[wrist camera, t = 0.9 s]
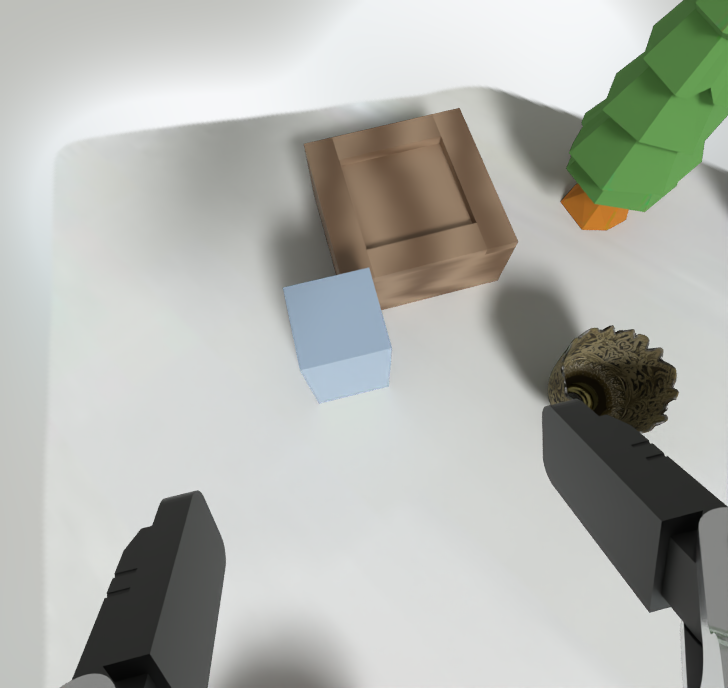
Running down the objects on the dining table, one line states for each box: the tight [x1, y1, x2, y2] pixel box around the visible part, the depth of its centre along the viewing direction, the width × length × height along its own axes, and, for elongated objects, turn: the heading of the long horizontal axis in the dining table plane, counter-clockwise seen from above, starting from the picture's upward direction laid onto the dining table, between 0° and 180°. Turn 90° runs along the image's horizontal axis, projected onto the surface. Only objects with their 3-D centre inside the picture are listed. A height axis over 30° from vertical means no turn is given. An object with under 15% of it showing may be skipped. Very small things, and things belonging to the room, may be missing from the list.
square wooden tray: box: [304, 108, 518, 310], centre depth 41 cm, size 14×14×7 cm
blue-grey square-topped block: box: [283, 268, 392, 404], centre depth 35 cm, size 6×6×10 cm
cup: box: [548, 325, 679, 433], centre depth 34 cm, size 8×7×8 cm
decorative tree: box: [561, 0, 728, 230], centre depth 30 cm, size 10×9×30 cm
